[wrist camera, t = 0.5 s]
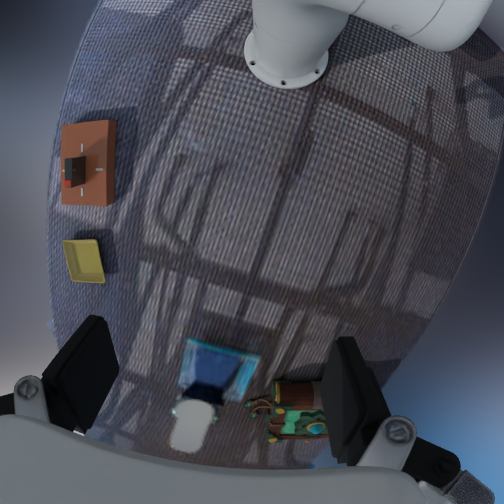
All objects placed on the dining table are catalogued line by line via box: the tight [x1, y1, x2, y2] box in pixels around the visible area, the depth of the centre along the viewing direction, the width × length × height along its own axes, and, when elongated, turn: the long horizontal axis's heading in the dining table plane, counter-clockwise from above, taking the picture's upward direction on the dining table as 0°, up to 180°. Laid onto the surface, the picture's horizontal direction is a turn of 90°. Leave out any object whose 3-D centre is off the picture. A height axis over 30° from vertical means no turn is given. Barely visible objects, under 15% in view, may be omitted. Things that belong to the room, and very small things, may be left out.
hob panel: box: [61, 120, 117, 206], centre depth 39 cm, size 14×10×3 cm
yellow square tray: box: [63, 239, 106, 283], centre depth 46 cm, size 9×9×2 cm
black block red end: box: [64, 156, 86, 188], centre depth 36 cm, size 5×2×4 cm, turn 174°
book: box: [243, 380, 329, 443], centre depth 55 cm, size 27×21×10 cm
